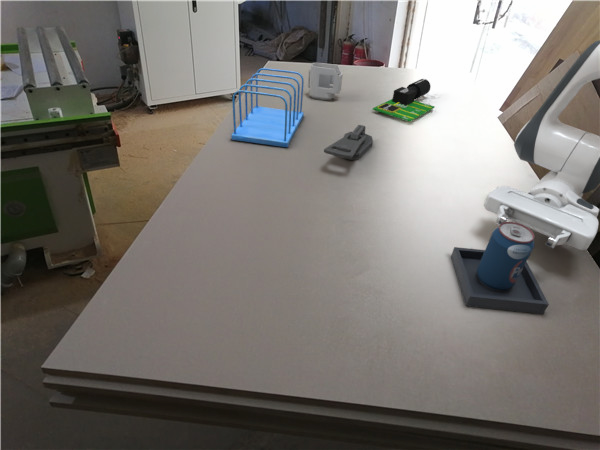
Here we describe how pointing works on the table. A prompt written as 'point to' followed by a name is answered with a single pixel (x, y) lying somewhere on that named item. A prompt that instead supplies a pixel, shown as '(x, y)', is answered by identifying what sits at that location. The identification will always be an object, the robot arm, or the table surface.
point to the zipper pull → (351, 144)
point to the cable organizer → (324, 81)
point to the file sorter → (268, 114)
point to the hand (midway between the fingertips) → (524, 232)
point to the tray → (475, 294)
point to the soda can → (505, 256)
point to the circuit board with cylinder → (407, 101)
